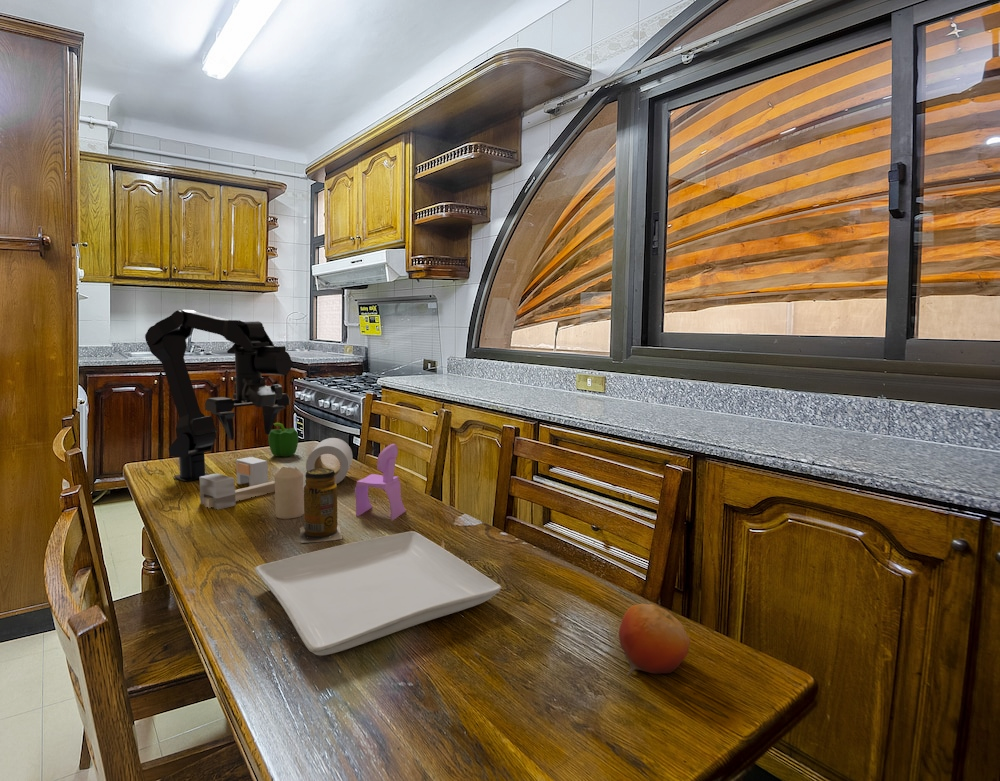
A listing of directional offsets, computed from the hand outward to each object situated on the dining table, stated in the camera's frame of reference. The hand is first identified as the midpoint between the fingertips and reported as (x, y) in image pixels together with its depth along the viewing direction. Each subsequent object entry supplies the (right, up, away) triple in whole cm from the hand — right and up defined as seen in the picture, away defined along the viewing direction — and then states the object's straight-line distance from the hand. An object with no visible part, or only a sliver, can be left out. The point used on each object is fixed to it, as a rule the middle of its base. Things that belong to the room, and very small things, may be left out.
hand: (250, 437), depth 139 cm
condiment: (+27, -16, -31) cm, 44 cm away
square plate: (+42, -19, -55) cm, 72 cm away
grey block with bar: (+3, -13, -9) cm, 16 cm away
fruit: (+79, -21, -71) cm, 108 cm away
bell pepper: (-4, -8, +33) cm, 34 cm away
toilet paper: (+18, -12, +6) cm, 22 cm away
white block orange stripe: (0, -12, +2) cm, 12 cm away
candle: (+17, -15, -20) cm, 30 cm away
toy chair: (+35, -15, -19) cm, 43 cm away
